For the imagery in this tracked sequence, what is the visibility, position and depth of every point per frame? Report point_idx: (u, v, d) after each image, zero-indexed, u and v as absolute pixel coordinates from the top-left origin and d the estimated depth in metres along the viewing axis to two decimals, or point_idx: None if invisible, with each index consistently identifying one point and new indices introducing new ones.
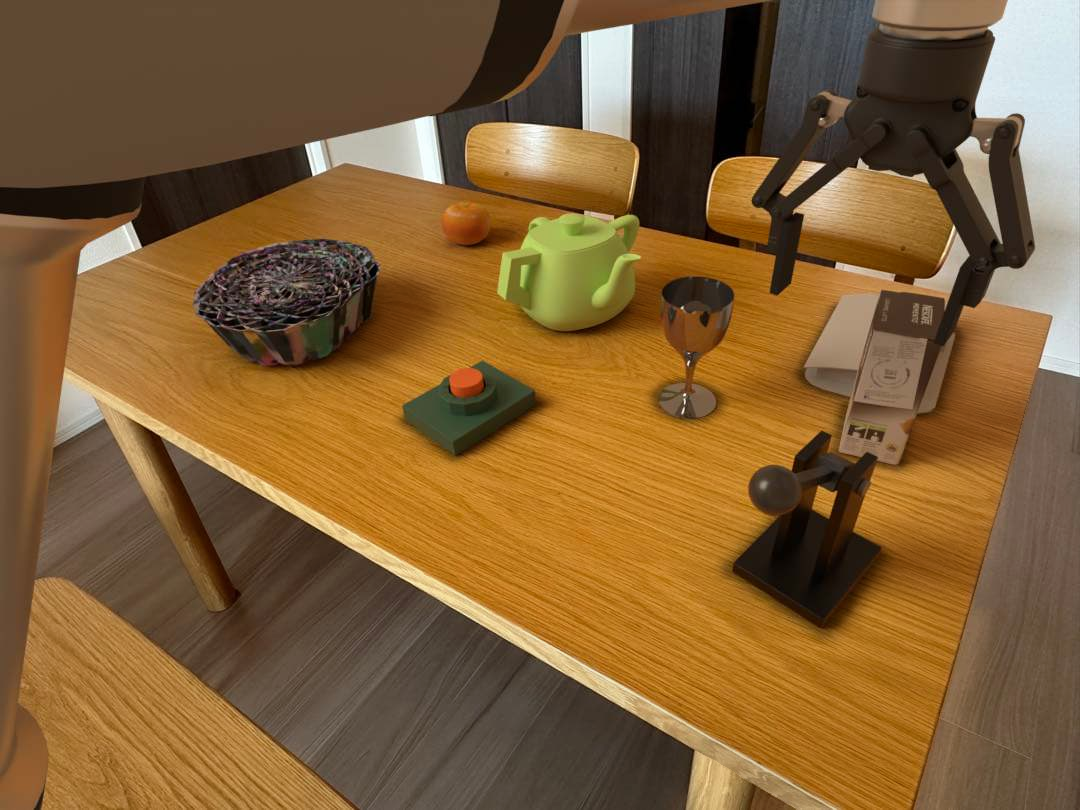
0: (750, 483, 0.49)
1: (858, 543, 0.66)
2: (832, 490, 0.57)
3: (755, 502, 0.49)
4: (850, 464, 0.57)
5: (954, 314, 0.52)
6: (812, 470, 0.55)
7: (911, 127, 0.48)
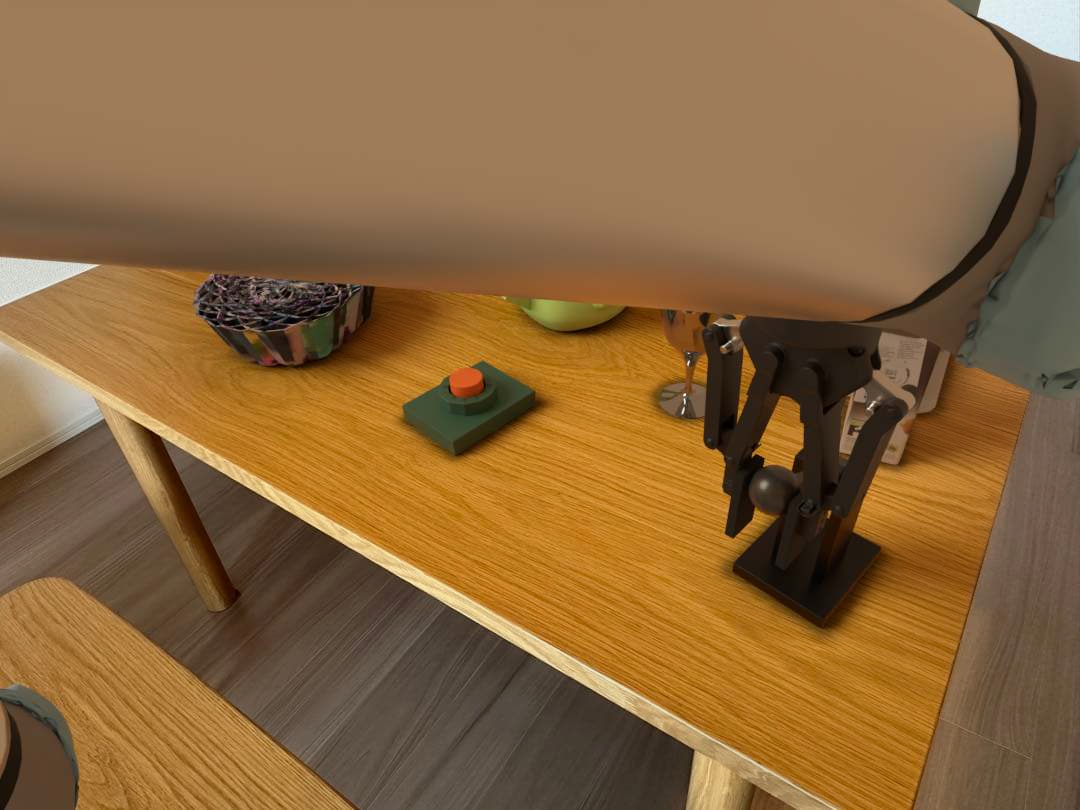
0: (750, 483, 0.49)
1: (858, 543, 0.66)
2: None
3: (755, 502, 0.49)
4: None
5: (790, 544, 0.49)
6: None
7: (806, 360, 0.41)
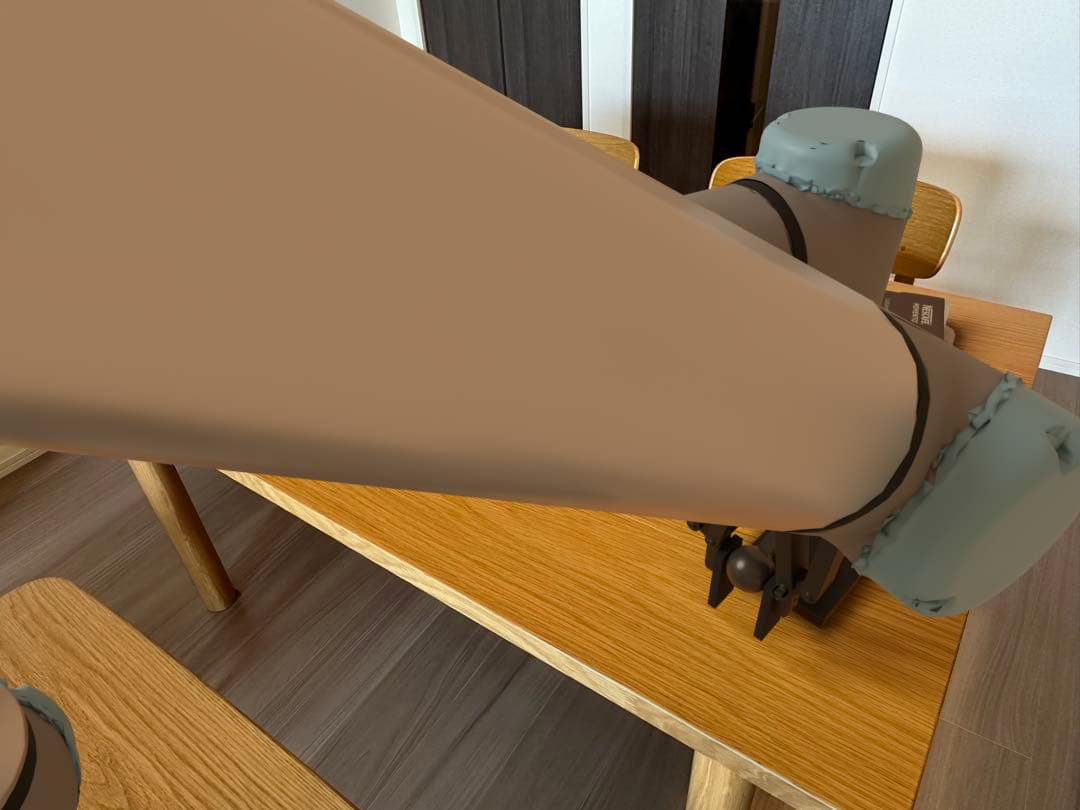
0: (726, 569, 0.53)
1: None
2: None
3: None
4: None
5: (766, 619, 0.53)
6: None
7: None
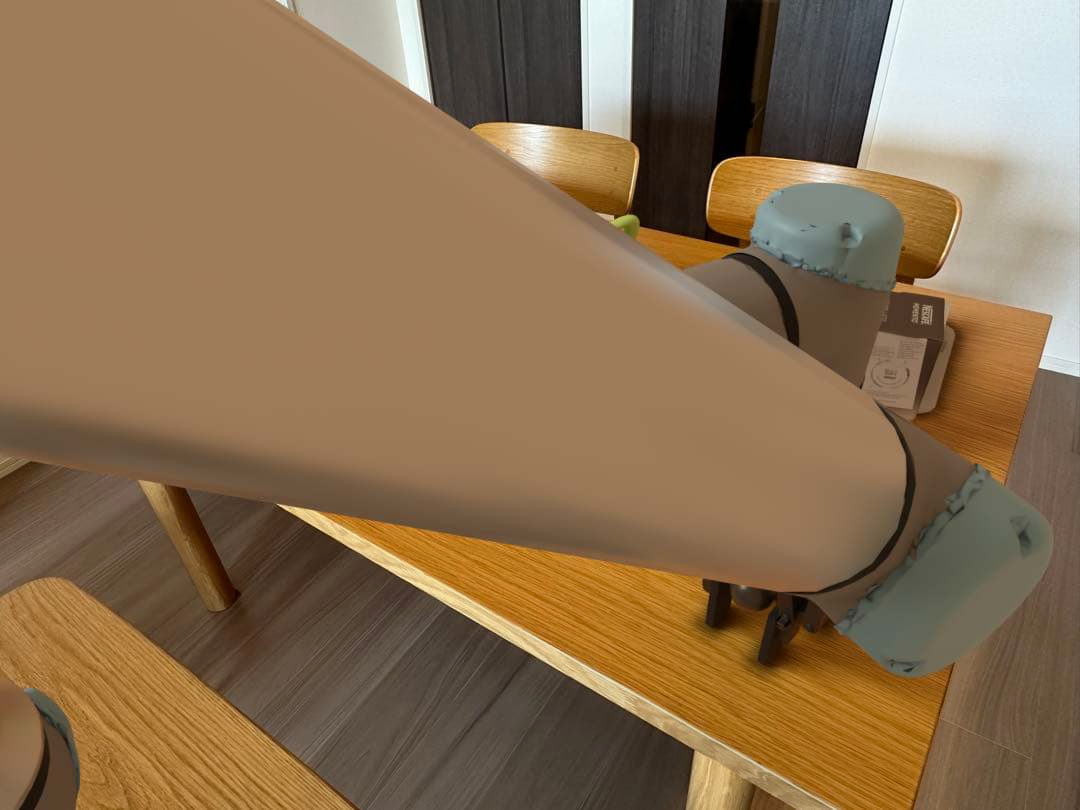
0: None
1: None
2: None
3: None
4: None
5: (769, 646, 0.56)
6: None
7: None
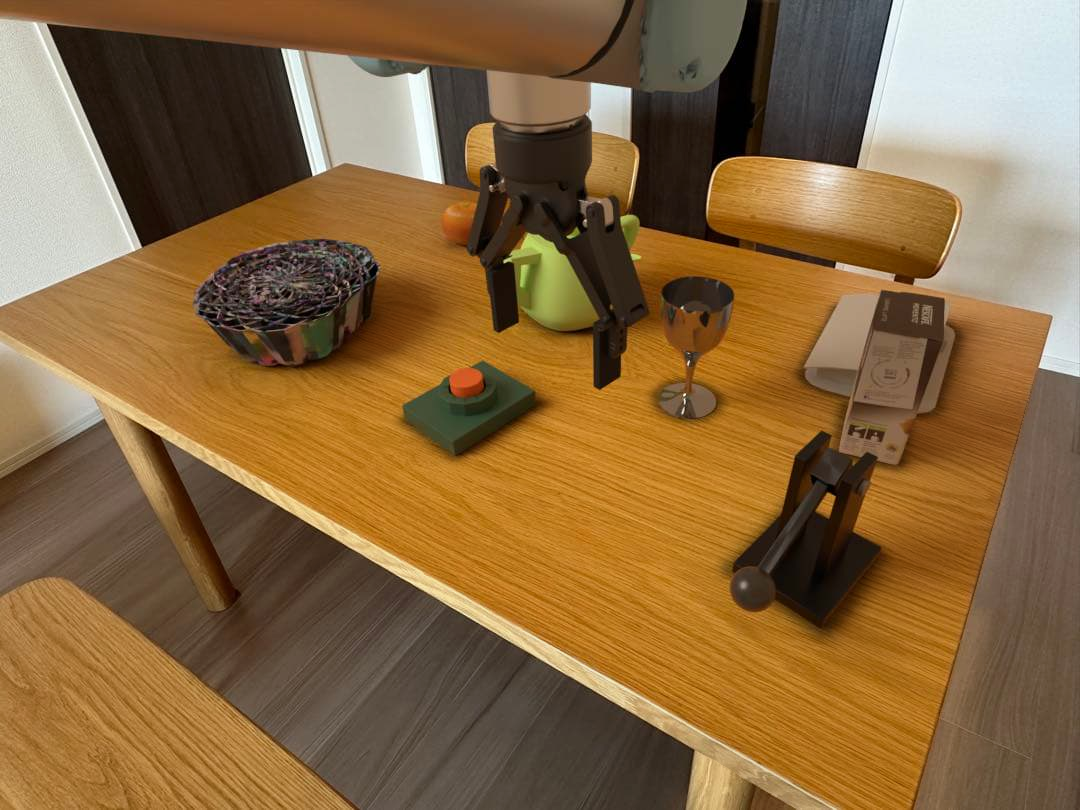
0: None
1: (858, 543, 0.66)
2: (834, 495, 0.58)
3: None
4: (844, 469, 0.57)
5: (599, 363, 0.58)
6: (800, 509, 0.57)
7: (541, 200, 0.55)
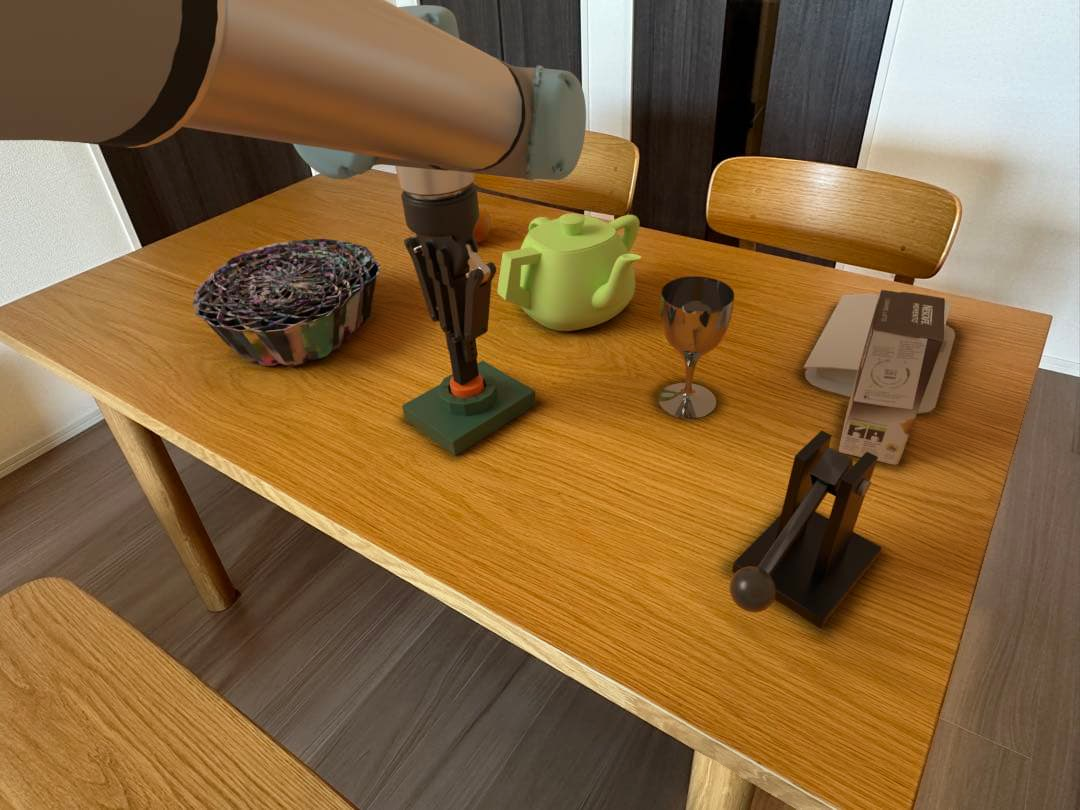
0: None
1: (858, 543, 0.66)
2: (834, 495, 0.58)
3: None
4: (844, 469, 0.57)
5: (458, 366, 0.80)
6: (800, 509, 0.57)
7: (441, 247, 0.71)
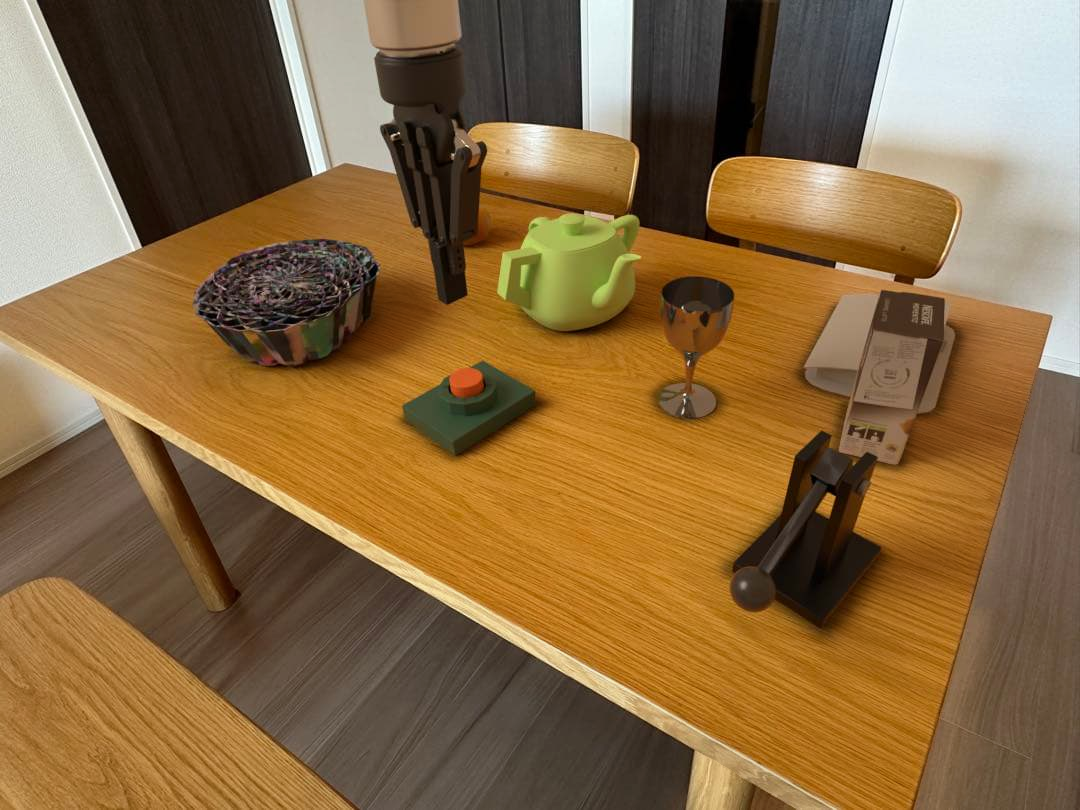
0: None
1: (858, 543, 0.66)
2: (834, 495, 0.58)
3: None
4: (844, 469, 0.57)
5: (443, 280, 0.69)
6: (800, 509, 0.57)
7: (422, 125, 0.60)
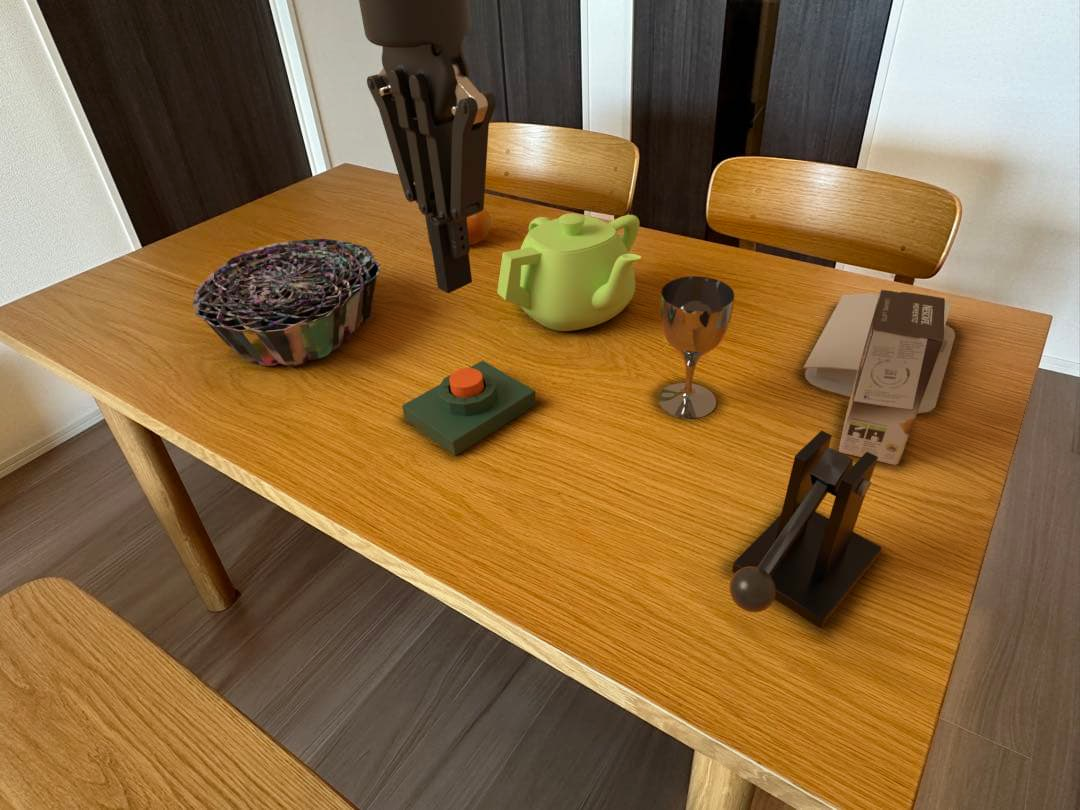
0: None
1: (858, 543, 0.66)
2: (834, 495, 0.58)
3: None
4: (844, 469, 0.57)
5: (444, 263, 0.59)
6: (800, 509, 0.57)
7: (417, 73, 0.50)
